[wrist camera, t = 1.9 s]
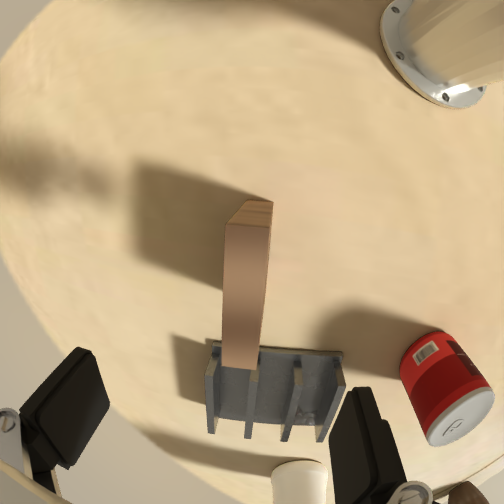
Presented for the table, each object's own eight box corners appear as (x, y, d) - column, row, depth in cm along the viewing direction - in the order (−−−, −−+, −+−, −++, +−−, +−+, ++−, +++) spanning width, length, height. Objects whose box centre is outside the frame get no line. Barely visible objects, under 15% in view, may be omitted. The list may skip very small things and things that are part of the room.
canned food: (387, 382, 28) (413, 452, 18) (413, 327, 26) (458, 395, 15) (434, 380, 28) (466, 440, 17) (461, 329, 25) (507, 386, 15)
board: (247, 199, 24) (225, 224, 14) (273, 202, 23) (269, 228, 14) (241, 296, 26) (221, 365, 17) (264, 299, 26) (256, 370, 17)
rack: (213, 341, 28) (204, 367, 24) (341, 351, 27) (349, 378, 23) (214, 412, 32) (208, 437, 28) (318, 421, 31) (320, 446, 27)
